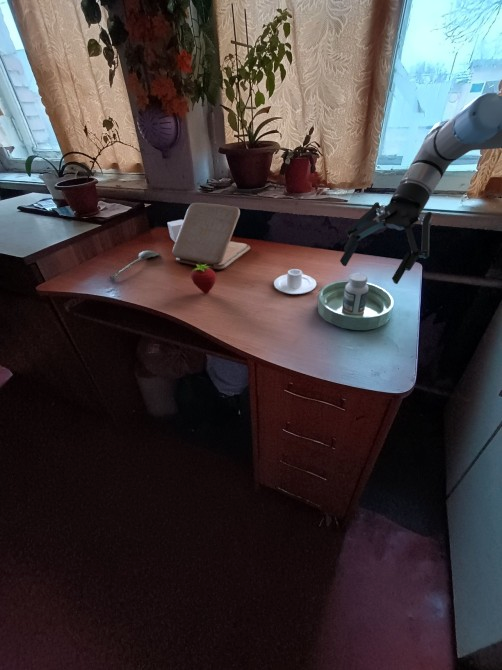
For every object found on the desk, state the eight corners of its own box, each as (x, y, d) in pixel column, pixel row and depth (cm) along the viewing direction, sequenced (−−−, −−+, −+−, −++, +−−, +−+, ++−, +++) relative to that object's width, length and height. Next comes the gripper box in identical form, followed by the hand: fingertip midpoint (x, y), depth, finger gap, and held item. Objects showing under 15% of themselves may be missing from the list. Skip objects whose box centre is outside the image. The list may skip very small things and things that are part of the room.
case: (171, 262, 106) (160, 214, 96) (207, 241, 120) (201, 197, 110) (220, 273, 97) (214, 221, 87) (253, 249, 111) (251, 202, 102)
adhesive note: (189, 238, 123) (186, 223, 119) (174, 242, 121) (171, 226, 117) (184, 234, 127) (181, 219, 124) (170, 237, 125) (167, 222, 122)
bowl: (400, 306, 78) (404, 292, 75) (372, 341, 68) (376, 326, 65) (337, 287, 87) (339, 274, 84) (304, 315, 77) (305, 302, 74)
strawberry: (208, 302, 84) (202, 268, 78) (189, 294, 88) (182, 261, 82) (222, 292, 88) (218, 259, 82) (203, 285, 92) (198, 253, 85)
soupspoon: (164, 256, 112) (149, 255, 114) (161, 247, 110) (147, 246, 112) (119, 282, 95) (104, 280, 98) (116, 272, 94) (100, 270, 96)
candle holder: (293, 272, 96) (293, 258, 93) (324, 284, 88) (326, 270, 86) (265, 286, 90) (264, 272, 87) (296, 301, 82) (297, 286, 80)
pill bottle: (362, 303, 79) (368, 271, 73) (366, 315, 75) (373, 282, 69) (340, 303, 79) (345, 271, 74) (343, 315, 75) (348, 282, 70)
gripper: (473, 210, 67) (422, 296, 69) (369, 192, 82) (329, 263, 84) (474, 188, 61) (417, 283, 63) (362, 174, 77) (318, 250, 78)
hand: (367, 272), depth 74 cm, fingers open, 13 cm apart
